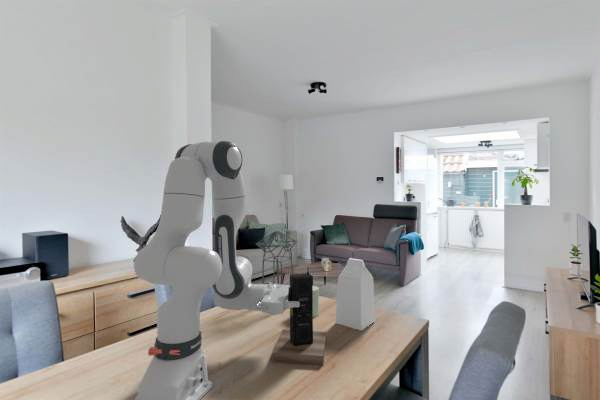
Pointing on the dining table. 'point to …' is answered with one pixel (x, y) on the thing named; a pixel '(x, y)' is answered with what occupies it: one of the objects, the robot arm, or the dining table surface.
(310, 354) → the walnut plinth
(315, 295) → the can
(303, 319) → the portable radio
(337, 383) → the dining table surface
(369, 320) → the milk
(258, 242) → the geometric lantern
